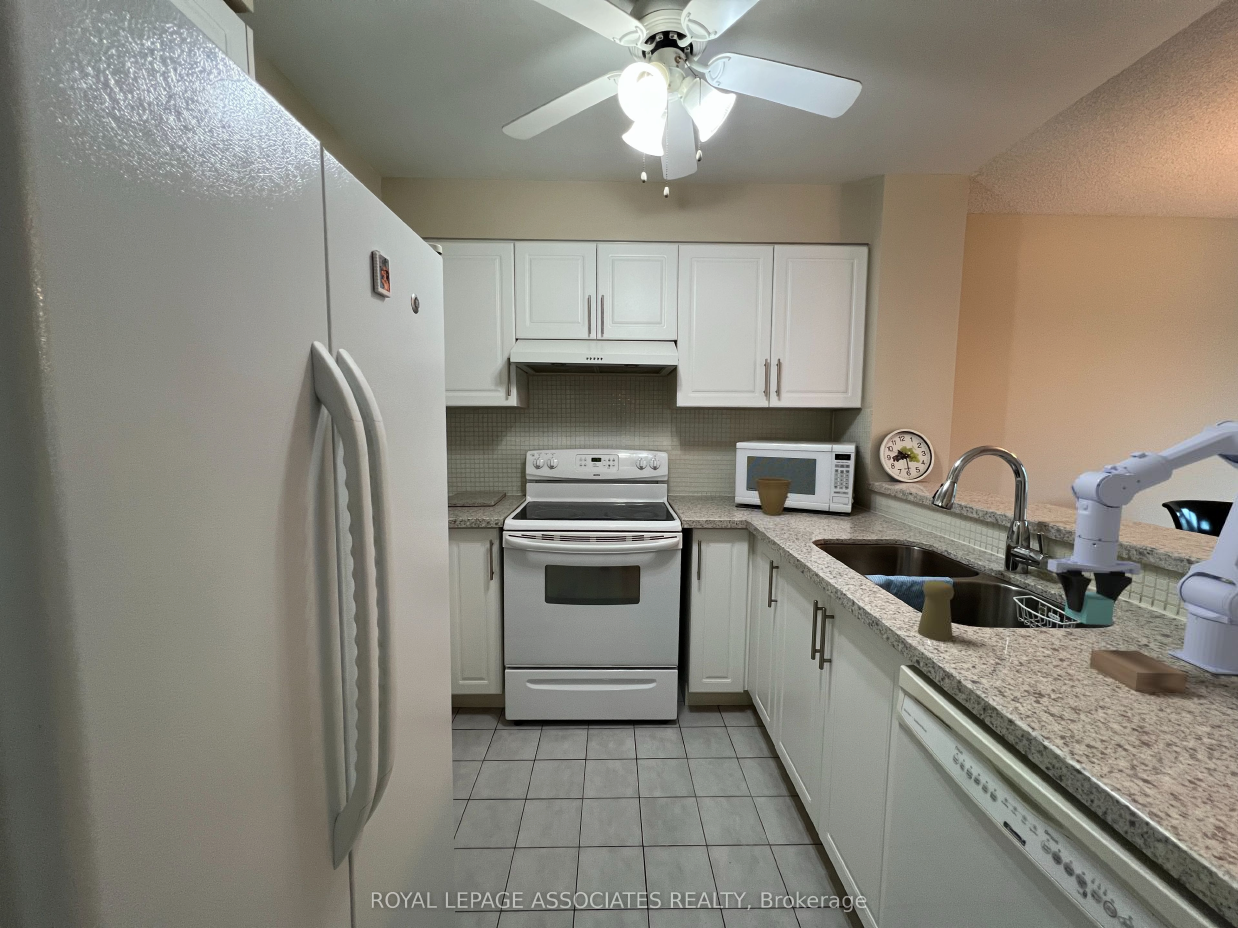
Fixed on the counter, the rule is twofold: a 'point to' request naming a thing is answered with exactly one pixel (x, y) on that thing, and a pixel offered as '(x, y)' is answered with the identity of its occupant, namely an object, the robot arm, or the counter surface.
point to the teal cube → (1093, 610)
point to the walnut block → (1138, 671)
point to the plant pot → (772, 494)
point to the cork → (936, 611)
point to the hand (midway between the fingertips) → (1088, 610)
